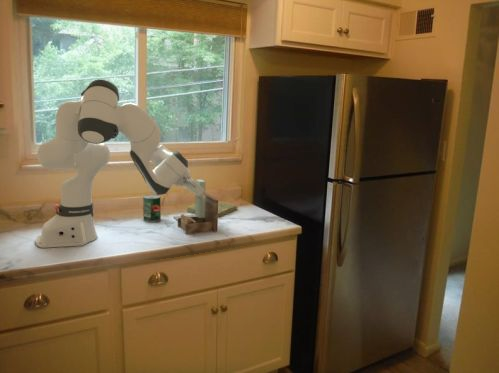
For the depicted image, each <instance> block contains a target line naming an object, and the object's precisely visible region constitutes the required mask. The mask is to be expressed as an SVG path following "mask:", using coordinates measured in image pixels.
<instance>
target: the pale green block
mask: <svg viewBox="0 0 499 373" xmlns="http://www.w3.org/2000/svg"><path fill="white" fill-rule="evenodd" d="M195 182H197V183H198V184H199V185H200V186H201V187H202V188H203V189H204V191H205V192H204V193H203V194H204V195H205V193H206V181H205V180H203V179H201V178H200V179H195ZM194 196H195V197H194V198H195V201H194V202H195V203H194V204H195V214H194V215H196V216H197V217H199V218H203V217H205V199H204V200H203V199H202V198H201V197H198V196H197V195H195V194H194Z"/></svg>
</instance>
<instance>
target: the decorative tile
mask: <svg viewBox="0 0 499 373" xmlns="http://www.w3.org/2000/svg"><path fill="white" fill-rule="evenodd" d="M237 209H238V206H237V205H236V204H233V203H230V202H225V201H219V200H218V218H220V217H223V216H224V215H227V214H230V213H232V212H235V211H236V210H237ZM186 213H188V214H191V215H195V203H193V204H191V205H189V206H187V209H186Z"/></svg>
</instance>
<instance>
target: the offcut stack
mask: <svg viewBox="0 0 499 373" xmlns="http://www.w3.org/2000/svg"><path fill="white" fill-rule="evenodd" d="M185 215H186V214H180V216H181V227H180V228H181V229H182V230H183V231H185V224H195V223H196V221H195V220H193V219H192V218H191V217H187V216H185Z"/></svg>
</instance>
